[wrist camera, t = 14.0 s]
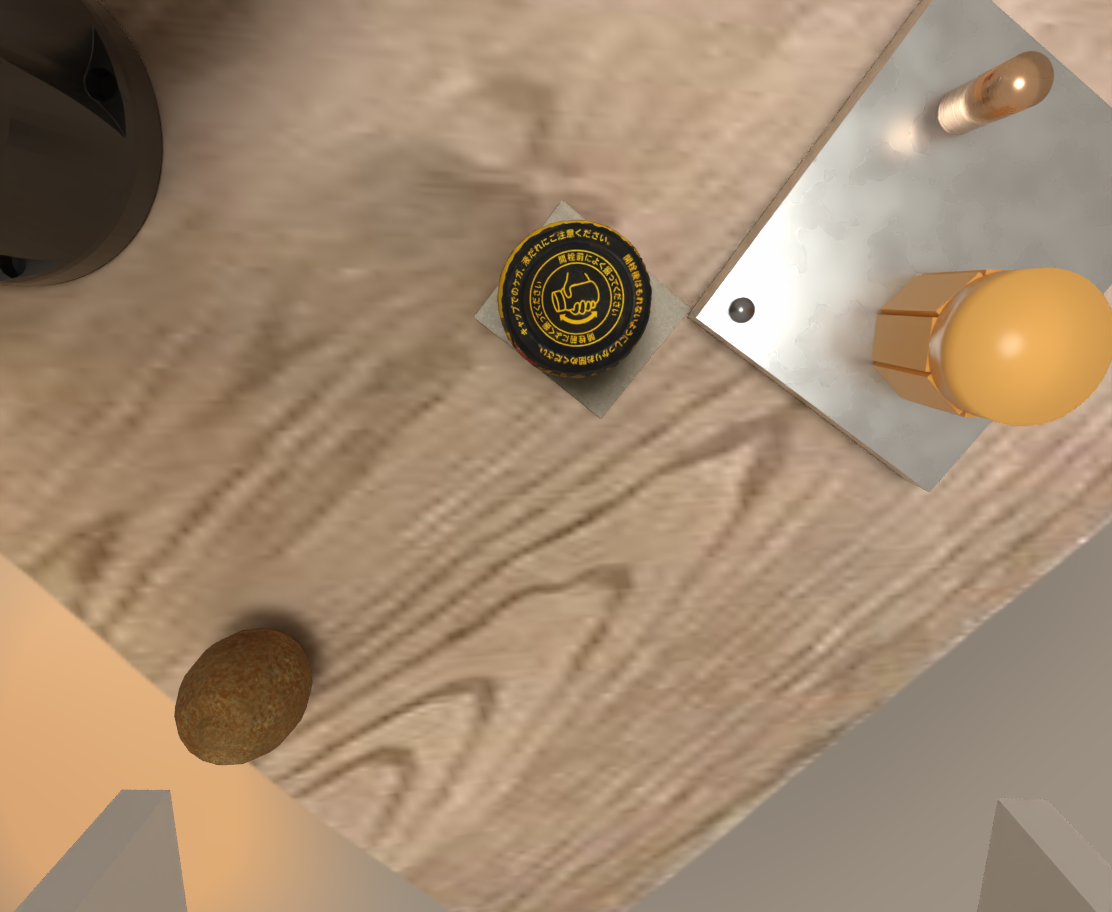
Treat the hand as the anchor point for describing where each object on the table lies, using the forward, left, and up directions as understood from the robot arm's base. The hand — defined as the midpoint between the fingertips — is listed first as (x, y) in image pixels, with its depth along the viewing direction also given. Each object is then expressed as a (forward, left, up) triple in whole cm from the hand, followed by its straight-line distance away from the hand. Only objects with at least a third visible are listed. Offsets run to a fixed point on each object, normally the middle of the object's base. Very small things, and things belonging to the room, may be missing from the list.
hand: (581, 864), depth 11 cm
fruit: (-7, -19, -27) cm, 34 cm away
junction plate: (+8, +19, -27) cm, 34 cm away
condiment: (-4, +7, -27) cm, 28 cm away
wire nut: (+11, +16, -24) cm, 31 cm away
